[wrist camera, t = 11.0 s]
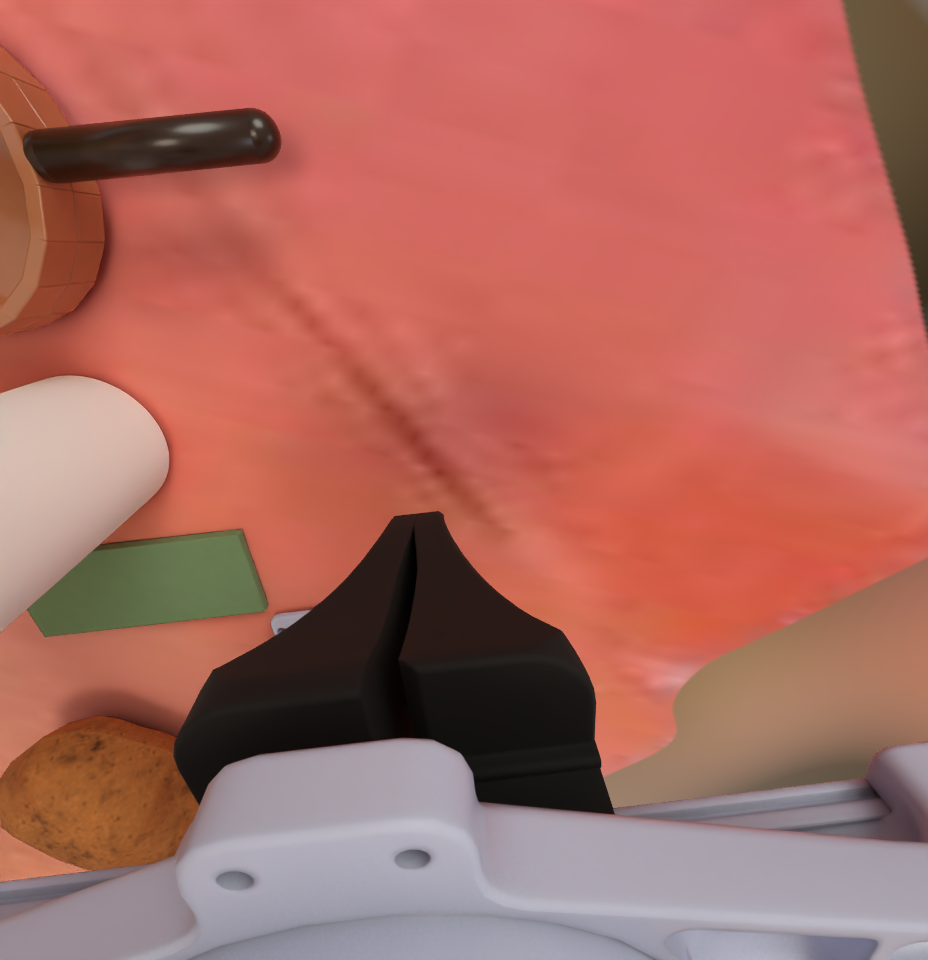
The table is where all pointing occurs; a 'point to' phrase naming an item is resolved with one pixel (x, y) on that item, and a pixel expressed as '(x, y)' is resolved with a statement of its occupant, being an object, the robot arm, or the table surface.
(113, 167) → the pan handle
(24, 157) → the pan
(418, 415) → the table surface
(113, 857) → the potato
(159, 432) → the can
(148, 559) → the flat green tile
